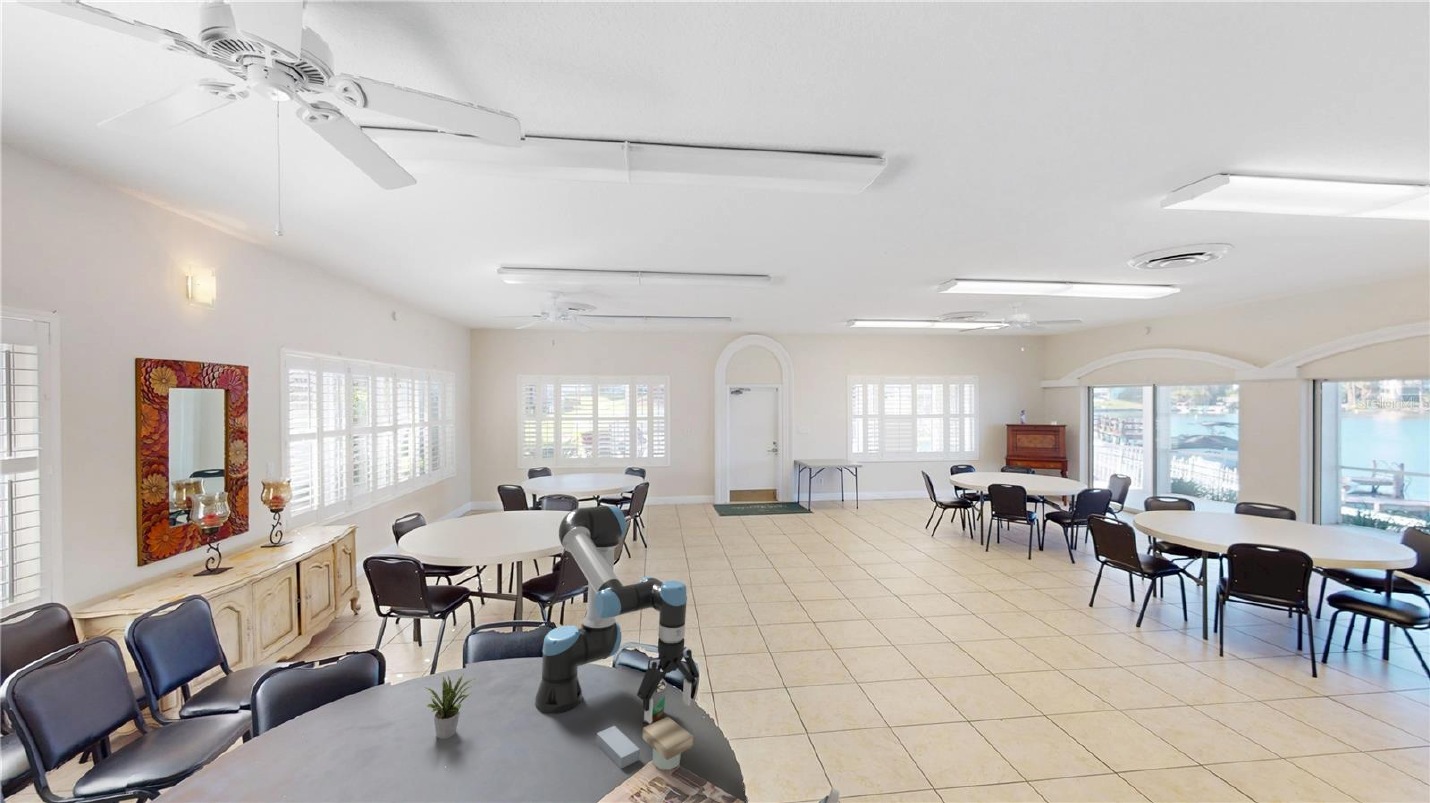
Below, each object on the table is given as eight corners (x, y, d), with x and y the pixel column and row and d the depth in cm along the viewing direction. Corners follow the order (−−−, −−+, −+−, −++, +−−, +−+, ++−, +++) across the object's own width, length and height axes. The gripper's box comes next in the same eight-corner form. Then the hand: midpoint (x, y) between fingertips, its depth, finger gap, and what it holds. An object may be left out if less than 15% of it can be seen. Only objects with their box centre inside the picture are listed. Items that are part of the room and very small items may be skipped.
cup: (648, 758, 147) (648, 740, 148) (669, 747, 152) (670, 730, 153) (663, 773, 142) (664, 754, 142) (685, 761, 147) (686, 743, 147)
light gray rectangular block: (596, 743, 153) (596, 733, 153) (614, 735, 157) (614, 725, 157) (621, 768, 143) (621, 757, 143) (639, 759, 147) (639, 748, 147)
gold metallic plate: (642, 738, 149) (642, 727, 149) (667, 726, 155) (668, 716, 155) (667, 760, 140) (667, 748, 140) (692, 746, 146) (693, 736, 146)
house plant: (486, 728, 159) (489, 674, 159) (446, 754, 146) (449, 696, 147) (454, 715, 165) (456, 663, 165) (413, 739, 152) (416, 683, 153)
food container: (660, 729, 161) (661, 697, 162) (641, 726, 163) (642, 694, 163) (671, 707, 173) (672, 677, 174) (654, 704, 175) (655, 675, 175)
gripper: (642, 655, 137) (638, 735, 137) (712, 631, 153) (709, 702, 153) (627, 644, 142) (623, 721, 142) (696, 622, 159) (693, 691, 159)
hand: (667, 711), depth 148 cm, fingers open, 13 cm apart
